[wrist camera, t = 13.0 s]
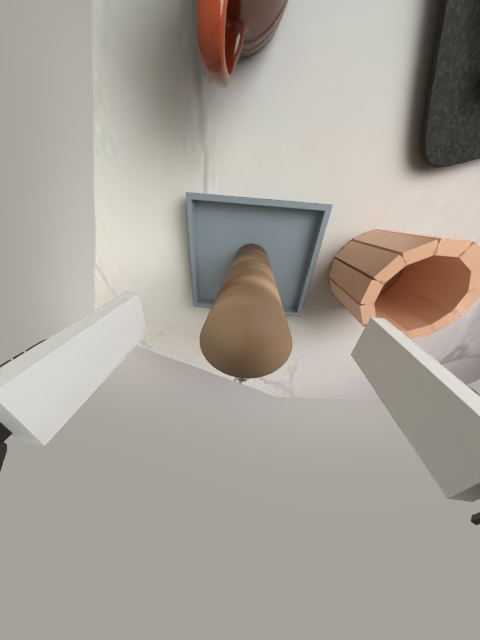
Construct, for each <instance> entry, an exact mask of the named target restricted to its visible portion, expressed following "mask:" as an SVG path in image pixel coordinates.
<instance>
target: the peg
mask: <svg viewBox="0 0 480 640" xmlns="http://www.w3.org/2000/svg"><path fill="white" fill-rule="evenodd" d="M200 347H201V350H202V353H203V355H204V357H205V358H206V360H207V361H208V362H209V363H210V364H211V365H212V366H213V367H215V368H216V369H217V370H219V371H221V372H223V373H225V374H227V375H230V376H234V377H239V378H257V377H262V376H265V375H268V374H270V373H273V372H274V371H276V370H277V369H279V368H280V367H281V366H282V365H283V364H284V363H285V362H286V361H287V359H288V357H289V355H290V353H291V349H292V337H291V334H290V330H289V327H288V323H287V320H286V317H285V313H284V310H283V306H282V303H281V300H280V296H279V293H278V289H277V286H276V282H275V279H274V276H273V272H272V269H271V265H270V262H269V258H268V255H267V253H266V251H265V249H264V248H263V247H261V246H260V245H258V244H254V243H250V244H246V245H244V246H242V247H241V248H240V249H239V250H238V252H237V254H236V256H235V258H234V260H233V262H232V265H231V267H230V269H229V271H228V273H227V275H226V278H225V280H224V282H223V284H222V286H221V289H220V291H219V293H218V295H217V297H216V299H215V302H214V304H213V306H212V308H211V310H210V313H209V315H208V317H207V319H206V321H205V323H204V326H203V328H202V330H201V334H200Z"/></svg>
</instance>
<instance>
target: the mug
mask: <svg viewBox="0 0 480 640" xmlns="http://www.w3.org/2000/svg"><path fill="white" fill-rule="evenodd" d="M287 3H288V0H197V3H196V21H197V40H198V49H199V55H200V60H201V63H202V67H203V70H204V72H205V75H206V77H207V78H208V80H209V81H210V83H212V84H213V85H215V86H217V87H221V88H227V87H228V86H229V85H230V83H231V81H232V79H233V75H234V71H235V67H236V64H237V61H238V59H239V56H250V55H253V54H254V53H256V52H257V51H259V50H260V49H261V48H263V47H264V46H265V45H266V44H267V42H268V41H269V40H270V39H271V37H272V36H273V35H274V33H275V31H276V29H277V27H278V26H279V23H280V21H281V19H282V16H283V13H284V11H285V8H286V6H287Z"/></svg>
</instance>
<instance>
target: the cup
mask: <svg viewBox="0 0 480 640" xmlns="http://www.w3.org/2000/svg"><path fill="white" fill-rule="evenodd" d="M335 257H336V258H338V259H334V260H333V263H332V266H331V269H330V272H329V275H328V276H329V278H328V280H329V284H330V288H331V292H332V294H333V295H334V296H335V297H336V298H337V299H338V300H339V301H340V302H341V303H342V304H343V305H344V306H345V307H346V308H347V309H348V310H349V311H350V312H351V313H352V315H353V316H354V317H355V318H356V319H357V320H358V321H359V322H360V323H361V324H362V325H363V326H364V327H366V325H367V323H368V321H369V319H370V317H375V318H385V319H386V320H387V321H388V322H390V323H391V324H392V325H393V326H395V327H396V328H397V329H398V330H399V331H401V332H402V333H403V334H404V335H406V336H407V337H408V338H409V339H414V338H417V337H421V336H425V335H429V334H433V331H434V332H437V331H438V330H440V329H442V328H443V327H445V326H447V325H448V324H450V323H451V322H453V321H455V320H456V319H458V318H460V317H461V315H460V314H465V313H466V312H467V310H468V309H469V308H470V307H471V306H472V305H473V303H474V302H475V301H476V300H477V299H478V297H479V296H480V247H479V246H478V245H477V244H476V242H473V241H467V240H460V239H452V238H444V237H437V236H429V235H421V234H414V233H406V232H398V231H388V230H372V231H370V232H368V233H365V234H363V235H361V236H358V237H356V238H354V239H353V241H350V242H349V243H348V244H347V245H346V246H345V247H344V248H343V249H342V250H341V251H340V252H339V253H338V254H337V255H336V256H335ZM459 313H460V314H459Z"/></svg>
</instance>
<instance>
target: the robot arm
mask: <svg viewBox="0 0 480 640" xmlns="http://www.w3.org/2000/svg"><path fill="white" fill-rule="evenodd" d="M147 333H148V330H147V326H146V321H145V317H144V313H143V309H142V305H141V301H140V296H139V293H131V292H125V293H123V294H122V295H120V296H118V297H117V298H115V299H113V300H112V301H110V302H108V303H107V304H105V305H103V306H102V307H100V308H98V309H97V310H95V311H93V312H92V313H90V314H88V315H87V316H85V317H83V318H82V319H80V320H79V321H77V322H75V323H73V324H72V325H70V326H68V327H67V328H65V329H63V330H62V331H60V332H58V333H57V334H55V335H53V336H52V337H50V338H48V339H46V340H43V341H41V342H39V343H38V344H36V345H34V346H32V347H31V348H29V349H27V350H26V352H22V353H21V354H19V355H17V356H15V357H14V358H13V360H9V361H7V362H5V363H4V364H2V365H0V471H1V467H2V464H3V461H4V458H5V455H6V452H7V444H6V443H4V441H5V440H6V439H7V438H8V437H9V436H10V435H11V434H13V435H14V436H16V437H17V438H18V439H19V440H20V441H21V442H22V443H27V444H35V445H43V446H45V445H46V444H47V443H48V442H49V441H50V439H51V438H52V437H53V436H54V435H55V434H56V433H57V432H58V431H59V430H60V428H61V427H62V426H63V425H64V424H65V423H66V422H67V421H68V420H69V419H70V418H71V416H72V415H73V414H74V413H75V412H76V411H77V410H78V409H79V408H80V407H81V405H82V404H83V403H84V402H85V401H86V400H87V399H88V398H89V397H90V396H91V394H92V393H93V392H94V391H95V390H96V389H97V388H98V387H99V386H100V384H101V383H102V382H103V381H104V380H105V379H106V378H107V377H108V376H109V375H110V374H111V373H112V371H113V370H114V369H115V368H116V367H117V366H118V365H119V364H120V362H122V360H123V359H124V358H125V357H126V356H127V355H128V354H129V353H130V352H131V351H132V350H133V348H134V347H135V346H136V345H137V344H138V343H139V342H140V341H141V340H142V339H143V337H144V336H145V335H146V334H147ZM351 356H352V357H353V358H354V360H355V361H356V363H357V364H358V366H359V367H360V369H361V370H362V372H363V373H364V375H365V376H366V378H367V379H368V381H369V382H370V384H371V385H372V387H373V388H374V390H375V391H376V393H377V394H378V396H379V397H380V399H381V400H382V402H383V403H384V405H385V406H386V408H387V409H388V411H389V412H390V414H391V415H392V417H393V418H394V420H395V421H396V423H397V424H398V426H399V427H400V429H401V430H402V432H403V433H404V435H405V436H406V438H407V439H408V441H409V442H410V444H411V445H412V447H413V448H414V450H415V451H416V453H417V454H418V456H419V457H420V459H421V460H422V462H423V463H424V464H425V466H426V468H427V469H428V470H429V472H430V474H431V475H432V477H433V478H434V480H435V481H436V483H437V484H438V486H439V487H440V489H441V490H442V492H443V493H444V495H445V496H446V498H447V499H455V500H462V501H470V502H473V501H476V500H478V499H480V395H479V394H478V393H477V392H476V391H474V390H473V389H471V388H470V387H468V386H467V385H465V384H464V383H463V382H462V381H460V380H459V379H458V378H457V377H456V376H454V375H453V374H452V373H451V372H450V371H448V370H447V369H446V368H445V367H443V366H442V365H441V364H440V363H439V362H437V361H436V360H435V359H434V358H432V357H431V356H430V355H429V354H428V353H426V352H425V351H424V350H423V349H421V348H420V347H419V346H418V345H417V344H415V343H414V342H413V341H412V340H410V339H409V338H408V337H407V336H406V335H404V334H403V333H402V332H401V331H399V330H398V329H397V328H396V327H395V326H393V325H392V324H391V323H390V322H388V321H387V320H386V319H385V318H375V317H370V319H369V321H368V323H367V325H366V327H365V329H364V331H363V333H362V334H361V336H360V338H359V340H358V342H357V344H356V346H355V348H354V349H353V351H352V353H351ZM471 522H472V523H474V524H475V525H478V524H480V513H477V514H474V515H472V518H471Z"/></svg>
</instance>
